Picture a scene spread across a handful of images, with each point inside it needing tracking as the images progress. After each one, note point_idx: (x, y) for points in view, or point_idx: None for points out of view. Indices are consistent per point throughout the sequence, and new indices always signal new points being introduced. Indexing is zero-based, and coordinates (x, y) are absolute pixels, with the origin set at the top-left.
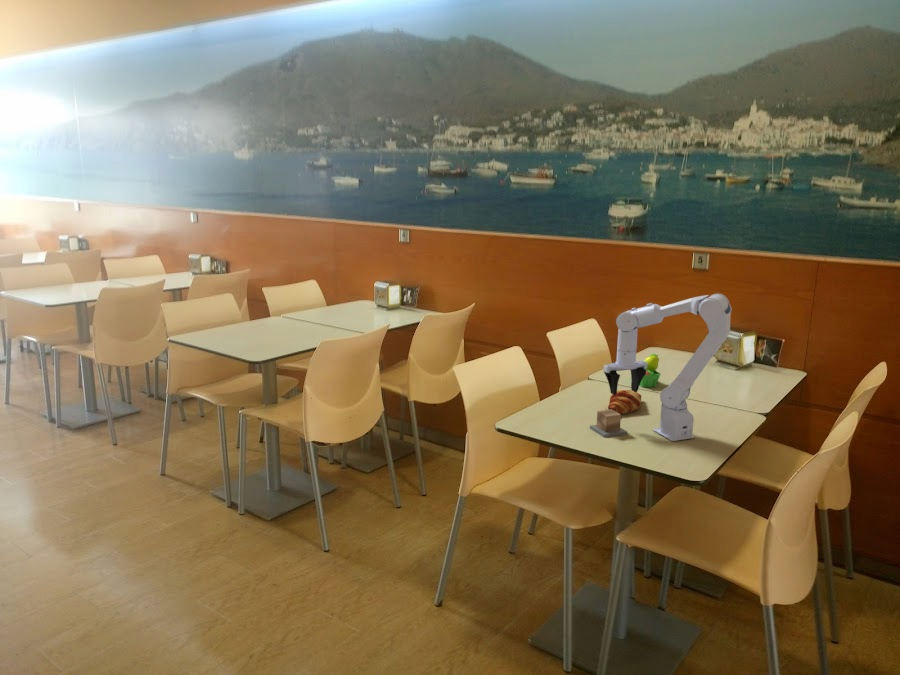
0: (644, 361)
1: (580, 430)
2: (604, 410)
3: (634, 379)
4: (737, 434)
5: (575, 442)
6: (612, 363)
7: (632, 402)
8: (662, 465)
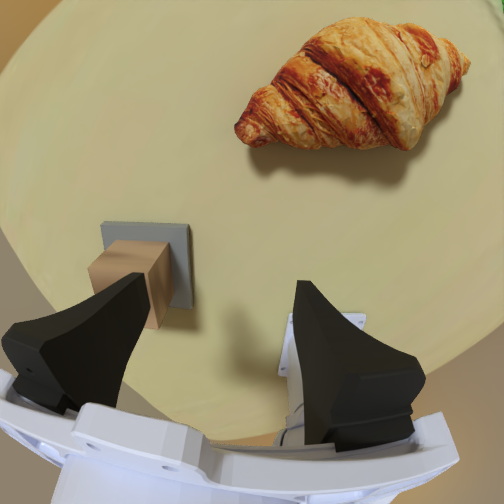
0: (444, 470)
1: (76, 228)
2: (114, 273)
3: (310, 357)
4: (428, 367)
5: (53, 290)
6: (26, 434)
7: (371, 143)
8: (181, 414)
